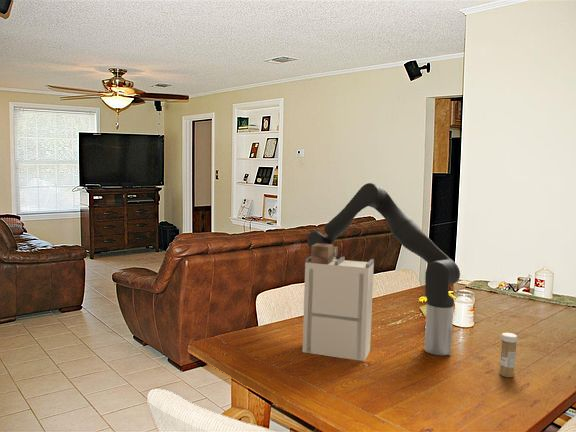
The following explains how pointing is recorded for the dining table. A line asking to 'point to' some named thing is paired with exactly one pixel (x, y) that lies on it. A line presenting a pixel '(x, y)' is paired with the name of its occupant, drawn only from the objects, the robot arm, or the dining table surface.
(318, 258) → the walnut bar
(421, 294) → the dining table surface
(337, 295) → the off-white tall box
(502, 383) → the dining table surface
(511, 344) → the sprinkles bottle
